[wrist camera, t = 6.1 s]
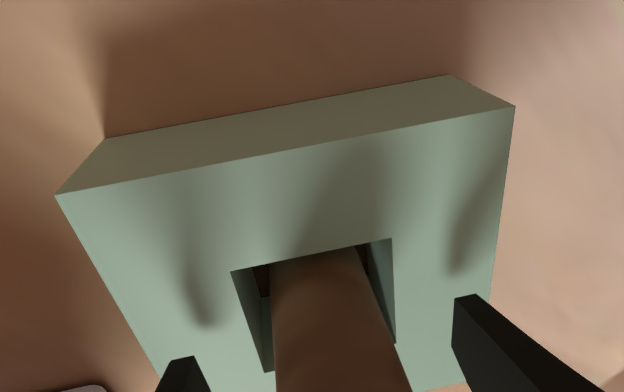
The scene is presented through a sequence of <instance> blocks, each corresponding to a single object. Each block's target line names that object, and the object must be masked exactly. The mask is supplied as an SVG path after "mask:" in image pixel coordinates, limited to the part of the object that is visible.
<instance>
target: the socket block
mask: <svg viewBox="0 0 624 392" xmlns="http://www.w3.org/2000/svg"><path fill="white" fill-rule="evenodd" d="M515 107H516V106H514V105H512V104H510V103H508V102H506V101H504V100H502V99H500V98H498V97H496V96H494V95H491V94H489V93H487V92H485V91H483V90H481V89H479V88H477V87H475V86H473V85H471V84H469V83H466V82H464V81H462V80H460V79H458V78H456V77H454V76H452V75H450V74H449V75H443V76H438V77H433V78H427V79H422V80H417V81H411V82H406V83H401V84H395V85H390V86H385V87H379V88H374V89H369V90H363V91H358V92H353V93H347V94H342V95H336V96H331V97H326V98H320V99H315V100H310V101H304V102H299V103H294V104H288V105H283V106H278V107H272V108H267V109H262V110H256V111H251V112H246V113H240V114H235V115H230V116H224V117H219V118H214V119H208V120H203V121H198V122H192V123H187V124H182V125H176V126H171V127H166V128H160V129H155V130H149V131H144V132H139V133H133V134H128V135H123V136H117V137H112V138H107V139H104V140H103V141H102V142H101V143H100V144H99V145H98V146H97V147H96V149H95V150H94V151H93V152H92V153H91V154H90V155H89V156H88V158H87V159H86V160H85V161H84V162H83V163H82V164H81V165H80V167H79V168H78V169H77V170H76V171H75V172H74V173H73V174H72V175H71V177H70V178H69V179H68V180H67V181H66V182H65V183H64V184H63V186H62V187H61V188H60V189H59V190H58V191H57V192H56V193H55V195H54V197H55V199H56V200H57V202H58V204H59V206H60V207H61V209H62V211H63V212H64V214H65V216H66V218H67V219H68V221H69V223H70V224H71V226H72V228H73V230H74V231H75V233H76V235H77V237H78V238H79V240H80V242H81V243H82V245H83V247H84V249H85V250H86V252H87V254H88V255H89V257H90V259H91V261H92V262H93V264H94V266H95V267H96V269H97V271H98V273H99V274H100V276H101V278H102V280H103V281H104V283H105V285H106V286H107V288H108V290H109V292H110V293H111V295H112V297H113V298H114V300H115V302H116V304H117V305H118V307H119V309H120V310H121V312H122V314H123V316H124V317H125V319H126V321H127V323H128V324H129V326H130V328H131V329H132V331H133V333H134V335H135V336H136V338H137V340H138V341H139V343H140V345H141V347H142V348H143V350H144V352H145V354H146V355H147V357H148V359H149V360H150V362H151V364H152V366H153V367H154V369H155V371H156V372H157V374H158V376H159V378H160V379H161V378H162V376H163V374H164V372H165V370H166V368H167V366H168V364H169V362H170V361H171V360H174V359H179V358H183V357H188V356H193V355H194V356H195V358H196V360H197V363H198V365H199V367H200V369H201V371H202V373H203V375H204V377H205V379H206V381H207V383H208V385H209V388H210V390H211V392H276V380H275V366H274V351H273V337H272V322H271V308H270V296H267V297H263V298H261V295H260V292H259V289H258V285H257V282H256V279H255V275H254V272H253V269H252V267H253V266H258V265H263V264H268V263H272V262H277V261H282V260H287V259H291V258H296V257H301V256H306V255H311V254H315V253H320V252H325V251H330V250H335V249H339V248H344V247H349V246H354V245H359V244H363V243H366V251H367V262H368V273H369V275H367V278H368V280H369V283H370V285H371V288H372V291H373V293H374V296H375V298H376V301H377V303H378V306H379V308H380V311H381V313H382V316H383V318H384V321H385V323H386V326H387V328H388V331H389V333H390V336H391V338H392V341H393V343H394V346H395V348H396V351H397V353H398V356H399V358H400V361H401V363H402V366H403V368H404V371H405V373H406V376H407V378H408V381H409V383H410V386H411V388H412V391H413V392H423V391H428V390H432V389H436V388H441V387H445V386H449V385H454V384H458V383H462V382H466V379H465V377H464V375H463V373H462V371H461V368H460V366H459V364H458V361H457V359H456V357H455V355H454V352H453V350H452V348H451V337H452V323H453V309H454V298H457V297H461V296H466V295H471V294H475V293H476V294H477V295H479V296H480V297H481V298H482V299H484V300H485V301H486V302H487V303H489V296H490V289H491V281H492V274H493V267H494V259H495V252H496V245H497V238H498V230H499V223H500V216H501V208H502V201H503V194H504V187H505V179H506V172H507V165H508V158H509V150H510V143H511V136H512V128H513V121H514V114H515Z"/></svg>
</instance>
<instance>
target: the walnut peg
mask: <svg viewBox="0 0 624 392" xmlns="http://www.w3.org/2000/svg"><path fill="white" fill-rule="evenodd" d="M268 279H269V293H270V308H271V322H272V337H273V351H274V366H275V380H276V392H413V391H412V388H411V386H410V383H409V381H408V378H407V376H406V373H405V371H404V368H403V366H402V363H401V361H400V358H399V356H398V353H397V351H396V348H395V346H394V343H393V341H392V338H391V336H390V333H389V331H388V328H387V326H386V323H385V321H384V318H383V316H382V313H381V311H380V308H379V306H378V303H377V301H376V298H375V296H374V293H373V291H372V288H371V285H370V283H369V280H368V278H367V275H366V273H365V270H364V268H363V265H362V263H361V260H360V258H359V255H358V253H357V250H356V248H355V245H354V246H349V247H344V248H339V249H335V250H330V251H325V252H320V253H315V254H311V255H306V256H301V257H296V258H291V259H287V260H282V261H277V262H272V263H268Z"/></svg>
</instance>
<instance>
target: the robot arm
mask: <svg viewBox="0 0 624 392" xmlns="http://www.w3.org/2000/svg"><path fill="white" fill-rule="evenodd" d="M451 348H452V350H453V352H454V355H455V357H456V359H457V361H458V364H459V366H460V368H461V371H462V373H463V375H464V377H465V379H466V381H467V383H468V385H469V387H470V389H471V391H472V392H605V391H603V390H602V389H600V388H599V387H597V386H596V385H594V384H593V383H591V382H590V381H589V380H587V379H586V378H584V377H583V376H581V375H580V374H579V373H577V372H576V371H574V370H573V369H572V368H570V367H569V366H568V365H566V364H565V363H563V362H562V361H561V360H559V359H558V358H557V357H555V356H554V355H553V354H551V353H550V352H549V351H547V350H546V349H545V348H543V347H542V346H541V345H540V344H538V343H537V342H536V341H534V340H533V339H532V338H530V337H529V336H528V335H527V334H525V333H524V332H523V331H522V330H520V329H519V328H518V327H517V326H515V325H514V324H513V323H512V322H510V321H509V320H508V319H507V318H505V317H504V316H503V315H502V314H501V313H499V312H498V311H497V310H496V309H494V308H493V307H492V306H491V305H490V304H488V303H487V302H486V301H485V300H484V299H482V298H481V297H480V296H479V295H477V294H476V293H475V294H471V295H466V296H461V297H457V298H454V309H453V323H452V337H451ZM61 392H106V390H105V389H104V388H103V387H101V386H99V385H88V386H84V387H79V388H75V389H70V390H66V391H61ZM155 392H211V390H210V388H209V385H208V383H207V381H206V379H205V377H204V375H203V373H202V371H201V369H200V367H199V365H198V363H197V360H196V358H195V356H194V355H193V356H188V357H183V358H179V359H174V360H171V361H170V362H169V364H168V366H167V368H166V370H165V372H164V374H163V376H162V378H161V380H160V382H159V384H158V386H157V388H156V390H155Z"/></svg>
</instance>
